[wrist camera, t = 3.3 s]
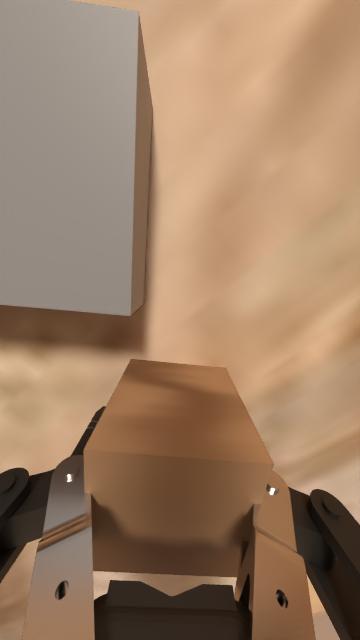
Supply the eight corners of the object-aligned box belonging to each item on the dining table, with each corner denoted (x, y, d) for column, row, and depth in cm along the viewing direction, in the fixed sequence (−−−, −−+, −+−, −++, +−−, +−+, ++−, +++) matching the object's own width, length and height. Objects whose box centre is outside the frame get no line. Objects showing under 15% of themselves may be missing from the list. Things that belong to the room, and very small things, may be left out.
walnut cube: (127, 436, 13) (86, 570, 7) (131, 359, 11) (83, 449, 6) (210, 442, 13) (237, 577, 7) (225, 368, 12) (273, 463, 6)
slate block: (-12, 288, 10) (-103, 295, 7) (-46, 87, 8) (-202, -42, 5) (144, 302, 11) (130, 315, 7) (153, 114, 9) (138, 10, 5)
